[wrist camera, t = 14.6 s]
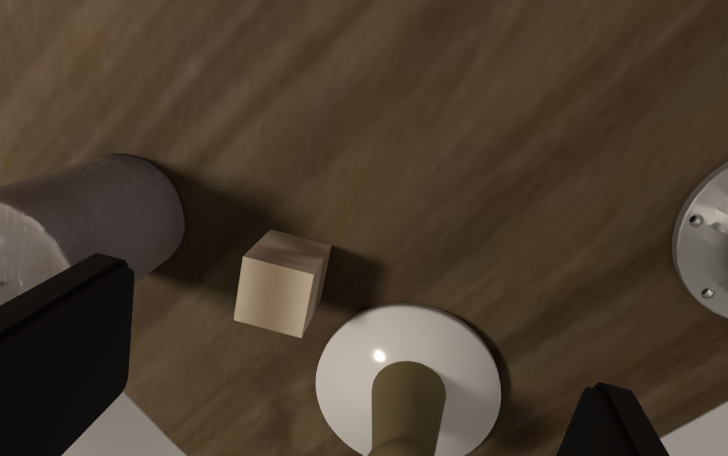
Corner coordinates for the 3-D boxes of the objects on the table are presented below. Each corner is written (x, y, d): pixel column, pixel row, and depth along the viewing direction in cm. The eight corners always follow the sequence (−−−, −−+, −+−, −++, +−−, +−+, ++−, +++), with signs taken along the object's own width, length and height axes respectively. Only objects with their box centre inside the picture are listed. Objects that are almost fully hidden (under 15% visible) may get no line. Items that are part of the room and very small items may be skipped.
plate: (523, 329, 40) (525, 337, 39) (471, 477, 45) (471, 488, 44) (336, 282, 41) (333, 288, 40) (305, 432, 46) (302, 441, 45)
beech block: (331, 244, 40) (313, 274, 35) (320, 300, 42) (301, 338, 36) (270, 229, 41) (242, 256, 35) (261, 285, 42) (233, 320, 37)
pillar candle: (57, 222, 43) (-128, 303, 29) (104, 126, 40) (-77, 165, 26) (155, 288, 44) (21, 399, 30) (209, 201, 41) (88, 278, 27)
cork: (362, 409, 43) (337, 521, 33) (384, 350, 41) (366, 448, 31) (431, 434, 43) (428, 554, 32) (457, 375, 41) (463, 483, 30)
